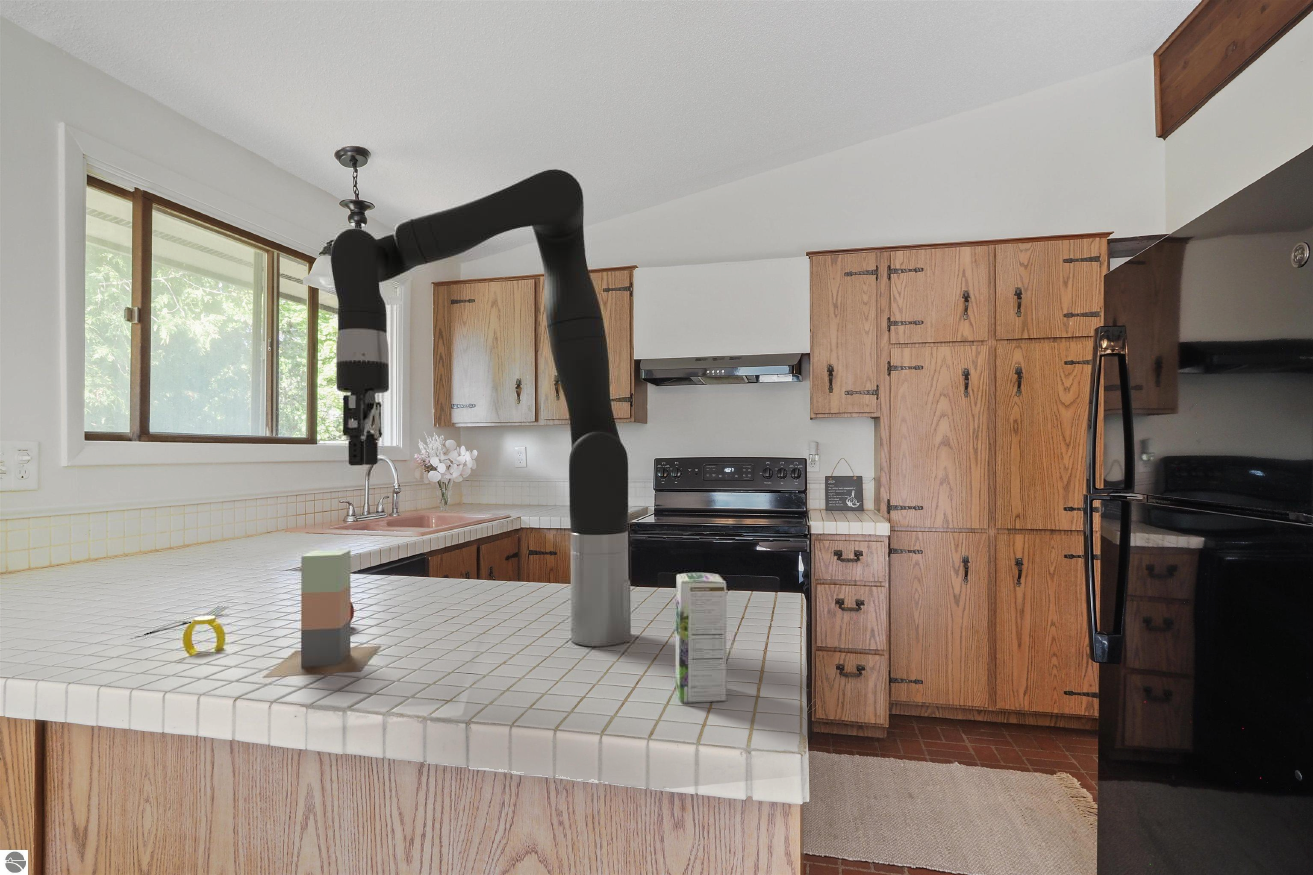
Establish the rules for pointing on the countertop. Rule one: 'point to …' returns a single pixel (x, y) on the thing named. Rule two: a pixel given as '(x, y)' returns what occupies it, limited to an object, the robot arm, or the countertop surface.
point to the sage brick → (325, 571)
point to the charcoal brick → (325, 646)
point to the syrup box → (700, 637)
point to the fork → (188, 622)
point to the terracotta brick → (325, 609)
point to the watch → (198, 621)
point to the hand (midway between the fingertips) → (363, 465)
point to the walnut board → (350, 664)
